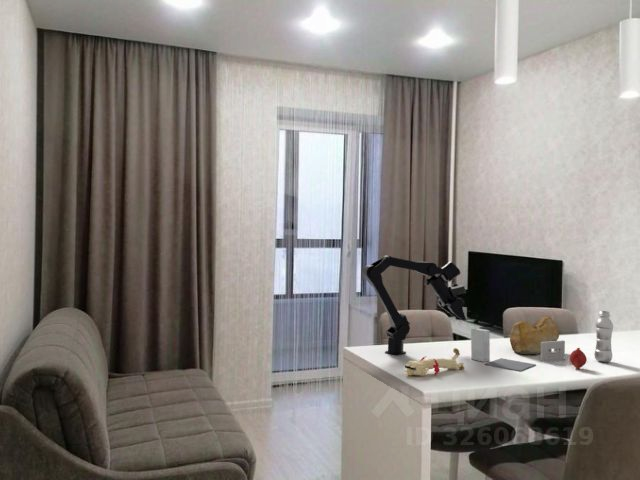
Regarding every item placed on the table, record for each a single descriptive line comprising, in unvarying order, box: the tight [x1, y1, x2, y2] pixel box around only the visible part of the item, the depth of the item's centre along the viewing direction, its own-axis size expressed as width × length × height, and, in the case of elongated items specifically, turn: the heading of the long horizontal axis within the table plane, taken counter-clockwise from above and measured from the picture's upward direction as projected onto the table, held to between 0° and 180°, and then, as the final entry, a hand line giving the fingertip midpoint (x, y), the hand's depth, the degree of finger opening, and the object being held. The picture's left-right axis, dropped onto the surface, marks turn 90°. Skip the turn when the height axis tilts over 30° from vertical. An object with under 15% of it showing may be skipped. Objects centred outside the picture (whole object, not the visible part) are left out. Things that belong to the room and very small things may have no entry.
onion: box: [569, 347, 587, 370], centre depth 212 cm, size 6×6×8 cm
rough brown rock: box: [509, 316, 560, 355], centre depth 243 cm, size 23×17×15 cm
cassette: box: [540, 339, 566, 363], centre depth 225 cm, size 12×2×8 cm, turn 113°
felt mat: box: [484, 357, 537, 372], centre depth 216 cm, size 14×14×1 cm
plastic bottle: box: [593, 310, 614, 363], centre depth 225 cm, size 6×7×20 cm
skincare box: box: [470, 328, 491, 363], centre depth 223 cm, size 6×4×12 cm
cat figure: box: [404, 348, 465, 376], centre depth 202 cm, size 10×9×25 cm
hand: (461, 318), depth 237 cm, fingers open, 9 cm apart
